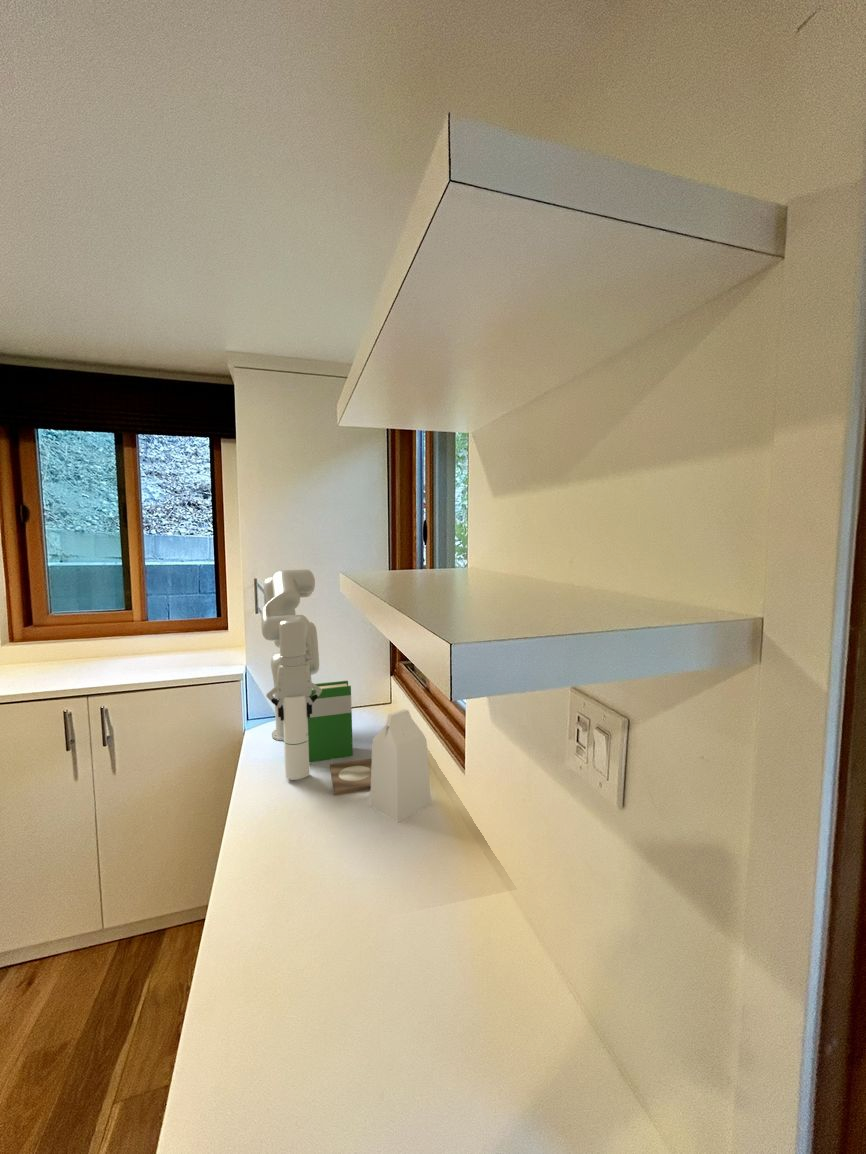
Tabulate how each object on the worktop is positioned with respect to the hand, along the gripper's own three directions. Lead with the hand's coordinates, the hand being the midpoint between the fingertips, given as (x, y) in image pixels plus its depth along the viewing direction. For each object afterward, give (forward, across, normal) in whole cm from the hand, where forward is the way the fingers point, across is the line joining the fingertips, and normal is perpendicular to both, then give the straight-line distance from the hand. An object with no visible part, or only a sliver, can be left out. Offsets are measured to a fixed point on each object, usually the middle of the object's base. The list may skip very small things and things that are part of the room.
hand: (295, 717), depth 150 cm
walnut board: (+19, -17, +5) cm, 26 cm away
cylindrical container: (+18, 0, 0) cm, 18 cm away
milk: (+19, -27, +25) cm, 41 cm away
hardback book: (+20, -9, -14) cm, 26 cm away
